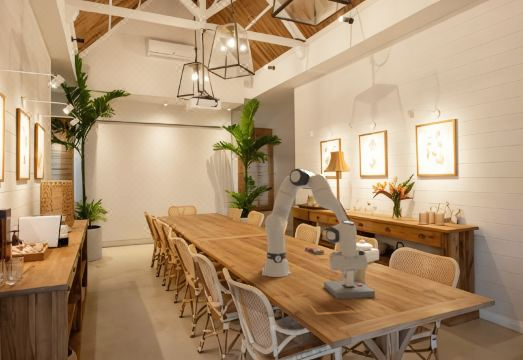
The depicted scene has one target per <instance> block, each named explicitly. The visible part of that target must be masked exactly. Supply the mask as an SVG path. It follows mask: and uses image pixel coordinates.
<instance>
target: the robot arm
mask: <svg viewBox="0 0 523 360" xmlns="http://www.w3.org/2000/svg"><path fill="white" fill-rule="evenodd" d="M300 189H304V190H305V189H306V190H311V193H312V196H313V199H314V202H315V203H316V204H317V206H319V207H320V208H323V209H327V210H329V211H331V212H332V213H333V214H334V215H335V216H336V219H337V220H338V222H339V223H337V224H336V225H332V226H329V227H328V228H327V229H326V231H325V232H326V233H325V236H326V239H327V242H329V243H330V244H339V251H336V252H335V251H334V252H331V253H330V254H329V269H330V270H331V271H340V273H341V274H342V275H341V277H342V279H344V278H346V275H345V274H344V270H351V269H353V272H354V278H355V274H356V272H357V269H365V270H366V269H367V268H368V267H369V265H368V264H369V263H367V257H366V256H365V255H366V252H365V251H363V250H361V249H358V248H357V245H356V243H357V236H358V235H357V234H358V232H357V226H356V223H355V222H353V221H351V219H350V218H349V216H348V214H347V211H346V210H345V208H344V206H343V205H342V203H341V201H340V200H339V199H338V198H337V197H336V196H335V194H334V192H333V190H332V188H331V186H330V183H329V181H328V179H327V178H326V176H325V175H324V174H322V173H317V174H316V173H315V172H312V171H311V170H307V169H302V168H295V169H293V170H291V172H290V174H289V175H287V176H285V177H284V180H282V182H281V184H280V186H279V188H278V191H277V194H276V196H275V199H274V203H273V208H272V211H271V213H270V214H268V216H266V219H265V220H264V226H265V232H266V233H265V234H266V237H267V239H266V240H267V253H266V260H265V262H263V263H262V267H263V268H262V270H261V276H267V277H270V278H271V277H272V278H282V277H283V278H284V277H286V276H288V275H292V272H291V271H290V270H289V260H288V259H287V252H286V238H285V233H284V232H285V231H284V228H285V226H286V224H287V222H288V219H289V216H290V213H291V209H292V207H293V204H294V201H295V199H296V196H297V193H298V191H299V190H300Z"/></svg>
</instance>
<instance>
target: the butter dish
mask: <svg viewBox="0 0 523 360" xmlns="http://www.w3.org/2000/svg"><path fill="white" fill-rule="evenodd" d="M356 245H357V248H358V249H361V250H363V251H365V252H366V255H365V256H366V257H367V263H368V264H369V262H370V263H373V262H375V261H379V260H380V250H379V249H378V248H373V247H374V246H373V245H372V244H371V243H368V242H366V240H364V239H360V240H359V241H358V242H356Z"/></svg>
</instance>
